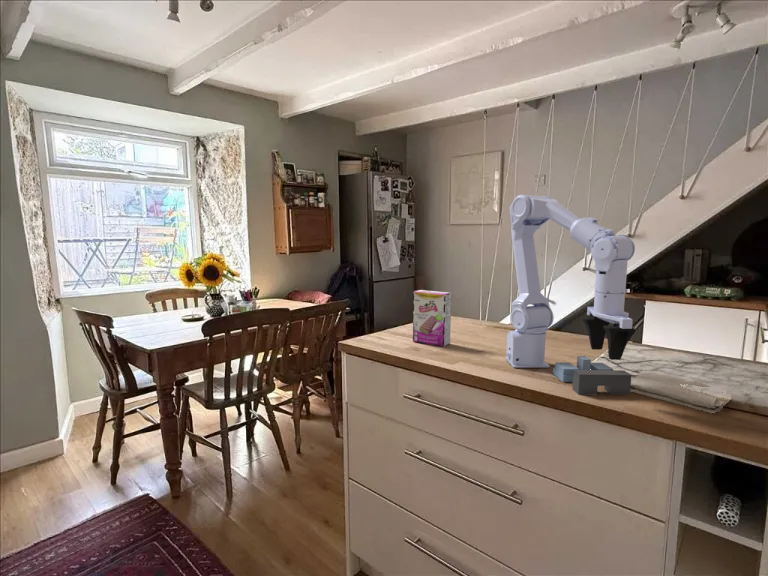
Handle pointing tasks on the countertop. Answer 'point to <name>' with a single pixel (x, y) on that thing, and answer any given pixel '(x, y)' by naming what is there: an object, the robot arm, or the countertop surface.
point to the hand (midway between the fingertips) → (605, 354)
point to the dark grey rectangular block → (601, 381)
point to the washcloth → (674, 391)
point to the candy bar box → (431, 317)
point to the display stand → (576, 368)
